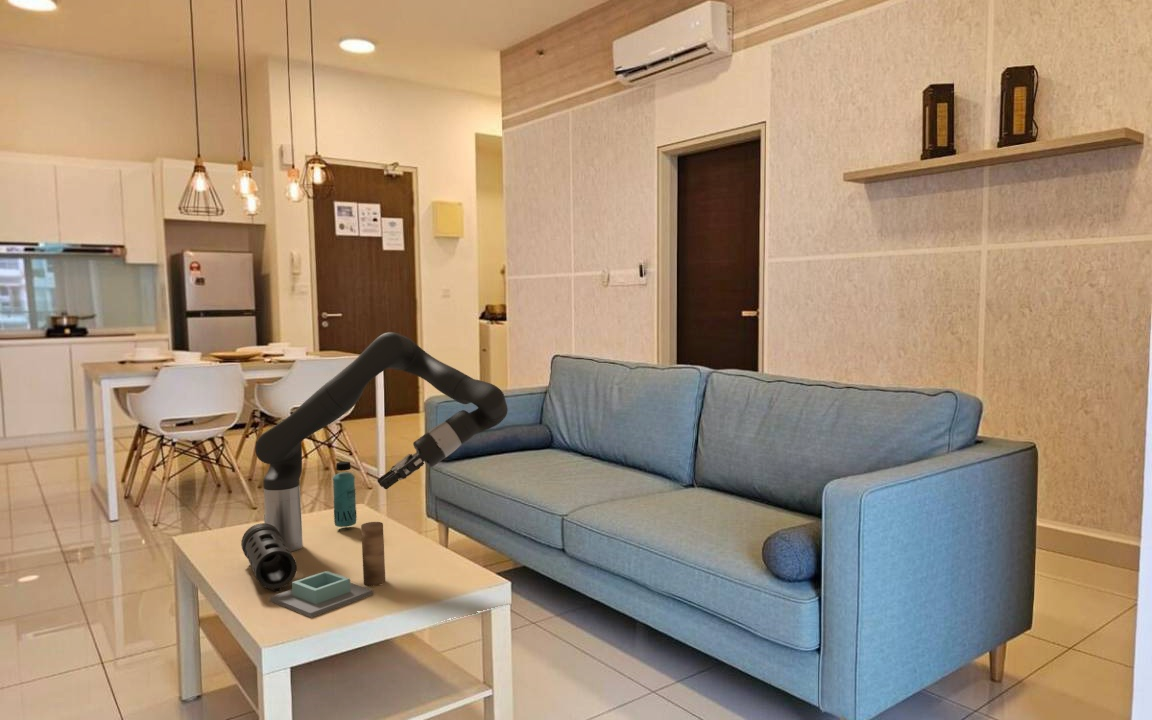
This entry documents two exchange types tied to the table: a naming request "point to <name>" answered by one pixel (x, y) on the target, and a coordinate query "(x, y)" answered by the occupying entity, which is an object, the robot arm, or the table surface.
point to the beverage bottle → (344, 496)
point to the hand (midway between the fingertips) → (380, 485)
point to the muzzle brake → (268, 556)
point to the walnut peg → (373, 553)
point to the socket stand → (320, 594)
